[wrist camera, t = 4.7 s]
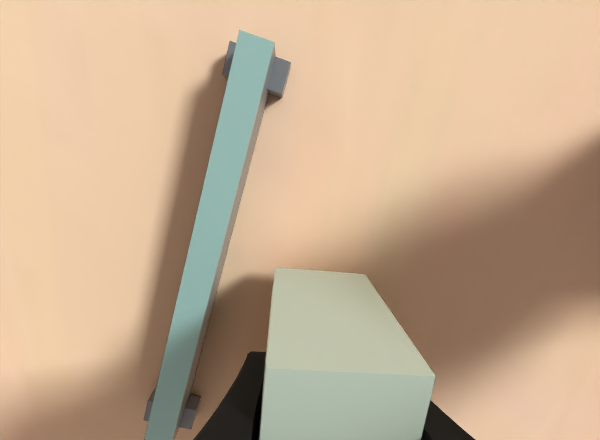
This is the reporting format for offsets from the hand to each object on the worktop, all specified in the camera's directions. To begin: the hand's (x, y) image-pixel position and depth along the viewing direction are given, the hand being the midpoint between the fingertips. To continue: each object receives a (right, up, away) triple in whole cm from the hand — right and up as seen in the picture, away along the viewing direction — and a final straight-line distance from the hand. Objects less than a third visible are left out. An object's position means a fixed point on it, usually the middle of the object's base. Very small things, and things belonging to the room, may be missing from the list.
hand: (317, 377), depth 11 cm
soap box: (0, 0, +2) cm, 2 cm away
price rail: (-5, +4, +3) cm, 7 cm away
